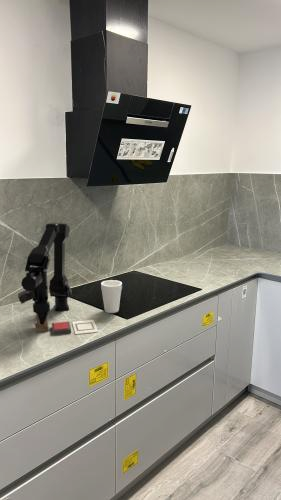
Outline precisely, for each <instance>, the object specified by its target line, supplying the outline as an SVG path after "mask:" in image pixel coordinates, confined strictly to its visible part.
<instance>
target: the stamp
mask: <svg viewBox="0 0 281 500" xmlns="http://www.w3.org/2000/svg"><path fill="white" fill-rule="evenodd" d="M35 315H36V316H35V318H36V320H35V321H36V322H35V323H34V325H35V333H44V332H49V331H50V330H49V322H48V316H47V317H46V319H45V322H44V324H43V325H41V324H40V320H39V317H38V314H37V313H35Z"/></svg>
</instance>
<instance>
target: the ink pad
mask: <svg viewBox="0 0 281 500" xmlns="http://www.w3.org/2000/svg"><path fill="white" fill-rule="evenodd" d="M51 329H52V336H54V335H63V334H64V335H65V334H71V333H72V328H71V324H70V321H60V322H59V321H58V322H51Z"/></svg>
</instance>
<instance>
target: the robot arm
mask: <svg viewBox="0 0 281 500" xmlns="http://www.w3.org/2000/svg"><path fill="white" fill-rule="evenodd" d="M70 231H71V229H70V225H68V224H67V223H66V222H65V223H64V222H58V223H57V222H50V223H46V224H45V229H44V232H43V234H42V236H41V238H40V240H39V242H38V245H37V246H35V247H34V248H32V249H31V251H30V253H29V254H28V255H27V259H26V264H25V268H24V272H26V273H25V276H24V277H22V280H21V281H20V282H21V283H20V284H21V287H22V289H23V290H24V291H21V292H19V293H18V294H17V298H18V299H19V302H20V304H21V305H22V304H24V303H27V302H29V301H32V302H33V303H32V311H33V313H35V314H36V313H37V314H38V317H39V320H40V324H41V325H43V324H44V322H45V319H46V317H47V318H48V314H49V312H50V311H51V305H50V302H49V301H48V300H49V296H50V297H54V305H53V308H54V309H53V310H54V312H58V311H59V312H61V311H69V310H70V306H69V304H68V301H69V300H68V299H69V298H70V297H72V294H73V293H72V292H73V291H72V288H71V286H70V284H69V279H68V278H67V276H66V274H65V271H66V270H65V269H66V267H65V265H66V260H65V258H66V257H65V256H66V253H65V252H66V250H65V249H66V242H67V241H68V238H69V235H70ZM52 245H53V275H52V277H51V279H50V280H49V285H48V272H47V271H48V269H49V265H50V261H51V256H50V250H51V248H52ZM48 291H49V292H48Z"/></svg>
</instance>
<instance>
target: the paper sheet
mask: <svg viewBox="0 0 281 500" xmlns="http://www.w3.org/2000/svg"><path fill="white" fill-rule="evenodd" d="M71 323H72V328H73V331H74V334H75V335H76V336H77V335H85V334H93V333H94V332H95V333H98V332H99V330H98V328H97V325H96V323H95V320H94V319H87V320H80V321H79V320H78V321H72V322H71ZM95 333H94V334H95Z"/></svg>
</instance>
